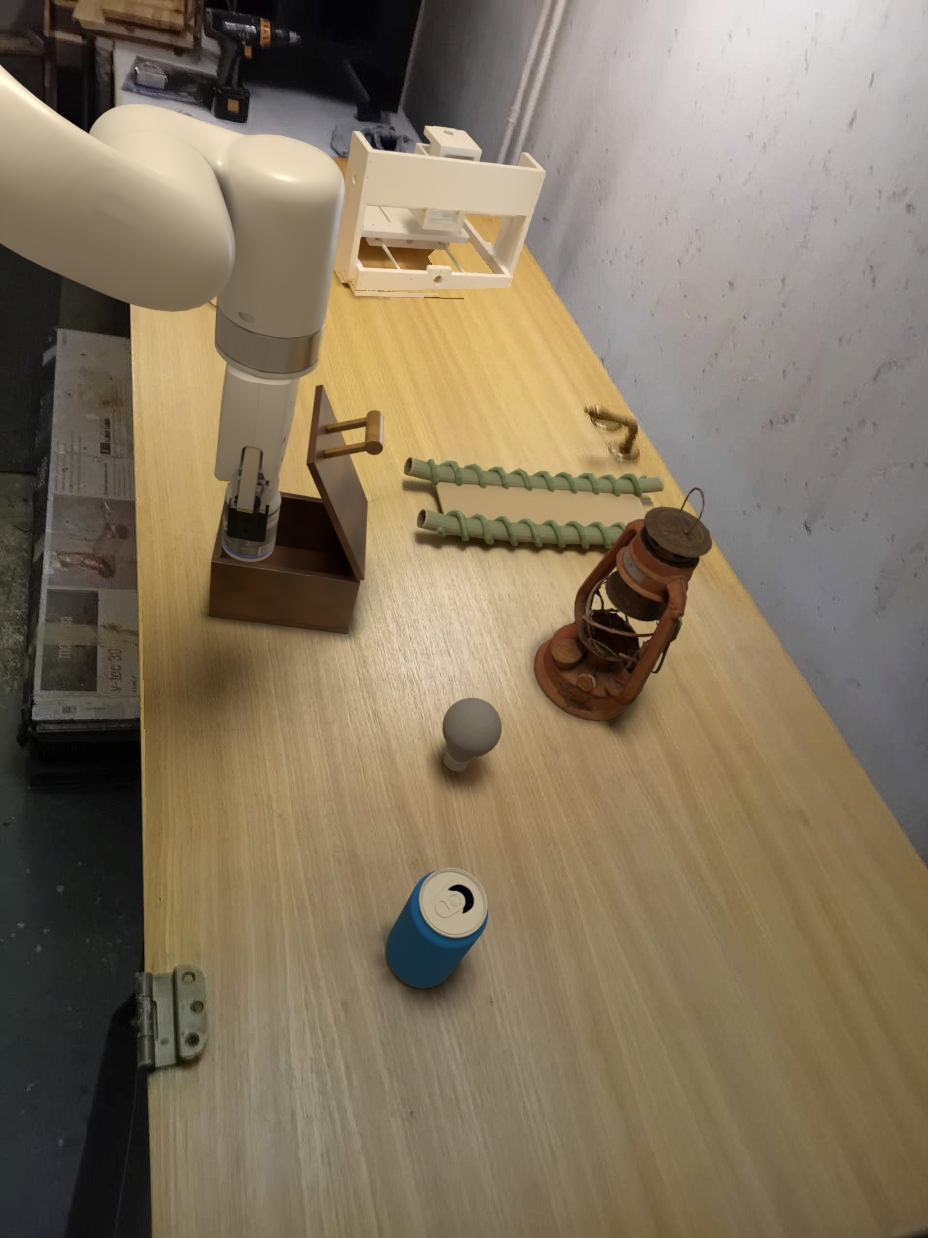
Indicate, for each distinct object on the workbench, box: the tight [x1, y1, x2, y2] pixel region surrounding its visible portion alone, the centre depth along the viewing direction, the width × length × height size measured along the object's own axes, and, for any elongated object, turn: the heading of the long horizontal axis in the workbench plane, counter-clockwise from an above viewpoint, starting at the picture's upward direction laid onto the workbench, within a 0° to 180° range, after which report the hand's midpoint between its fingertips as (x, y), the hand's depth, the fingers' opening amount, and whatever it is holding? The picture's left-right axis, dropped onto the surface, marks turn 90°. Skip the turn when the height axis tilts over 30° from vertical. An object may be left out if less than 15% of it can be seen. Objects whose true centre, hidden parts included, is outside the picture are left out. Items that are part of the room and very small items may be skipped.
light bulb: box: [441, 697, 503, 772], centre depth 84 cm, size 6×6×10 cm
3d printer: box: [334, 125, 547, 299], centre depth 151 cm, size 35×32×25 cm
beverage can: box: [385, 867, 489, 989], centre depth 69 cm, size 6×6×12 cm
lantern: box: [533, 486, 713, 722], centre depth 89 cm, size 17×13×30 cm
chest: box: [207, 482, 361, 635], centre depth 94 cm, size 16×13×9 cm
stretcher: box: [403, 456, 665, 550], centre depth 116 cm, size 41×14×5 cm, turn 102°
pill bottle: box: [222, 467, 281, 562], centre depth 72 cm, size 5×5×8 cm
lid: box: [305, 384, 385, 582], centre depth 86 cm, size 16×13×7 cm
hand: (250, 514), depth 72 cm, fingers closed on pill bottle, 4 cm apart
